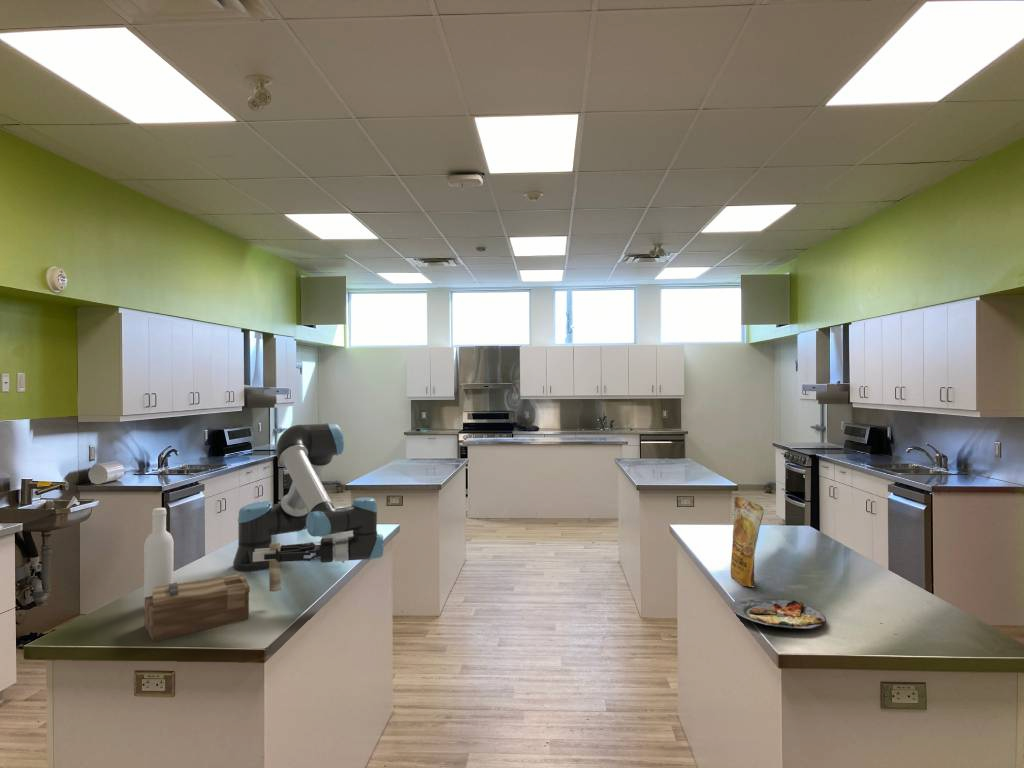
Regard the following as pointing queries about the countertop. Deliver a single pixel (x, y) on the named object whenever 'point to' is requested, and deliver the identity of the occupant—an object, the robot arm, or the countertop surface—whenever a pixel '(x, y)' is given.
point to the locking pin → (274, 570)
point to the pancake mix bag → (745, 540)
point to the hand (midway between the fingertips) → (254, 555)
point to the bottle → (158, 554)
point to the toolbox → (194, 615)
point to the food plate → (790, 609)
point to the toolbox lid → (199, 590)
